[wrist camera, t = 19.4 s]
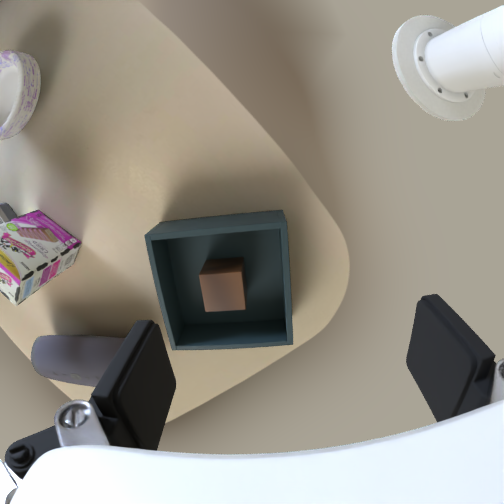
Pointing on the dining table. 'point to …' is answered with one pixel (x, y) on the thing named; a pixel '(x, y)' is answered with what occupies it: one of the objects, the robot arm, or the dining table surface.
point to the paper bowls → (17, 91)
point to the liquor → (6, 213)
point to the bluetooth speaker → (74, 357)
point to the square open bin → (217, 247)
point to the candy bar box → (33, 254)
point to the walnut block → (224, 284)
